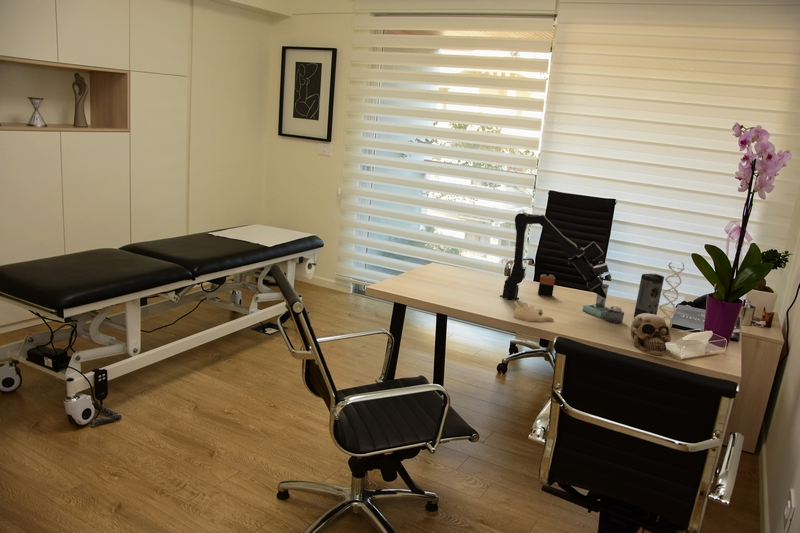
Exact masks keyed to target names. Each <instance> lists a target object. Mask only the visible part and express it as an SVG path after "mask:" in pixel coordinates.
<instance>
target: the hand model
mask: <svg viewBox="0 0 800 533" xmlns="http://www.w3.org/2000/svg"><path fill="white" fill-rule="evenodd" d="M513 306H514V307H515V309H514V311H513V318H515V319H517V320H521V321H526V322H539V323H543V322H554V321H555V319H554V318H553V317H552V316H549V315H548V316H547V315H545V316H544V315H543V316H542V315H540V314H542V312H543V309H542V308H535V306H534V305H529V306H528V303H527V302H523V303H522V306H520V304H519V303H518V301H516V300H515V301H514V302H513Z"/></svg>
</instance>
